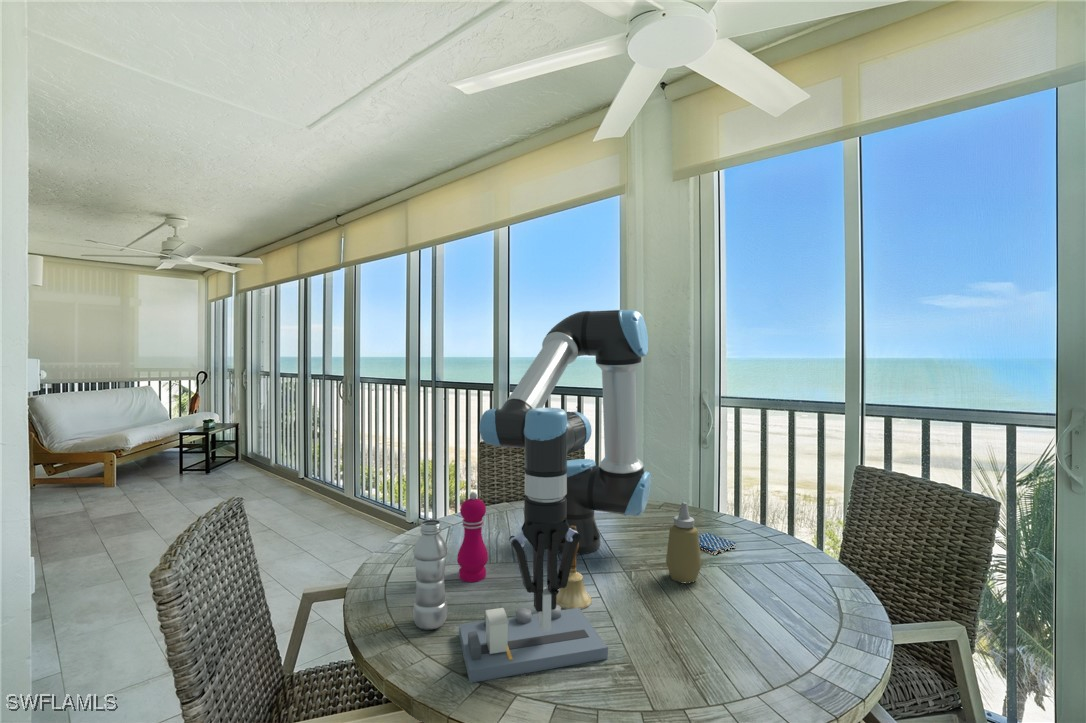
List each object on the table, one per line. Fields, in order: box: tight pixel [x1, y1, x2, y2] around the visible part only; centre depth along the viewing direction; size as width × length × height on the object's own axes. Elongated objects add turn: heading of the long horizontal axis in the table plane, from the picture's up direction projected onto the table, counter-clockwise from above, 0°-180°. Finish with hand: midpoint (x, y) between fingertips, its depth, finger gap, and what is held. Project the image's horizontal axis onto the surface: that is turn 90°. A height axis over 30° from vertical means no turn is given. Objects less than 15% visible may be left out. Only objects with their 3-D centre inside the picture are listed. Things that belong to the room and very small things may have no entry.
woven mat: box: [699, 532, 738, 555], centre depth 138 cm, size 10×11×2 cm
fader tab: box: [484, 607, 509, 654], centre depth 86 cm, size 3×4×5 cm
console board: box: [458, 604, 609, 684], centre depth 89 cm, size 24×14×4 cm, turn 106°
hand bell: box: [556, 526, 593, 610], centre depth 106 cm, size 8×8×16 cm
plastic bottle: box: [412, 519, 448, 631], centre depth 96 cm, size 6×7×20 cm
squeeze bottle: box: [665, 501, 702, 584], centre depth 118 cm, size 8×8×18 cm
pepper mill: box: [456, 491, 489, 583], centre depth 117 cm, size 7×7×20 cm
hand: (544, 627), depth 88 cm, fingers closed
